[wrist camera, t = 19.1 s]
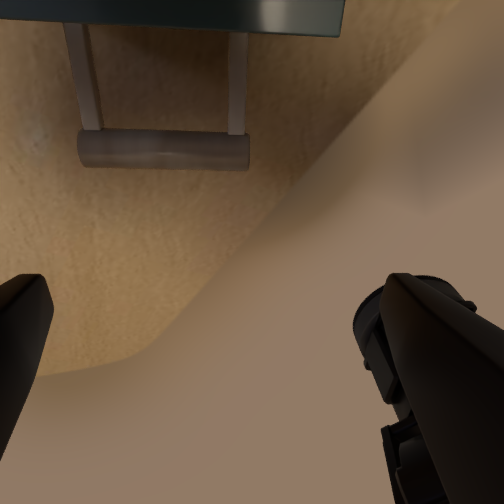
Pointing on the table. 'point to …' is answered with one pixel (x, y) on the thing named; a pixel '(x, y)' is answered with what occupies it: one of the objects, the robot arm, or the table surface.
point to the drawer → (174, 17)
